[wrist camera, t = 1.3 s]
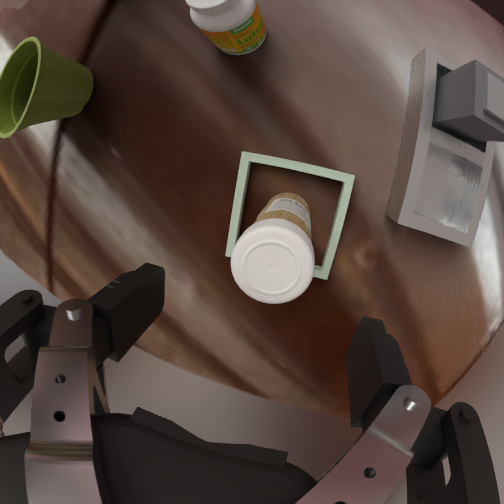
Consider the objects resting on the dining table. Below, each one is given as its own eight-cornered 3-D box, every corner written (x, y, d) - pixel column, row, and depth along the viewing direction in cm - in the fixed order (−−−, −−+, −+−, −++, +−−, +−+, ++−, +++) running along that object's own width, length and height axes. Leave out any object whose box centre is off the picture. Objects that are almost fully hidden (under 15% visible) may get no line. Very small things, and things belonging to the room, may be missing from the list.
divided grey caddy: (385, 213, 25) (397, 223, 21) (411, 59, 18) (426, 47, 15) (453, 235, 24) (471, 247, 20) (479, 93, 17) (498, 88, 14)
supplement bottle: (250, 63, 22) (221, 23, 13) (206, 46, 22) (162, 9, 13) (276, 25, 20) (260, -26, 11) (231, 10, 20) (199, -37, 11)
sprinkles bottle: (256, 216, 27) (212, 269, 15) (285, 181, 26) (266, 207, 13) (290, 245, 28) (274, 321, 15) (321, 213, 26) (333, 268, 14)
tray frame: (228, 252, 29) (225, 255, 28) (244, 151, 25) (242, 151, 24) (326, 274, 28) (327, 279, 27) (352, 175, 24) (355, 176, 23)
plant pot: (99, 36, 23) (40, 17, 12) (116, 102, 26) (44, 94, 15) (47, 85, 26) (-9, 82, 16) (59, 148, 29) (-4, 157, 19)
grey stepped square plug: (426, 124, 20) (478, 114, 11) (430, 82, 18) (479, 57, 9) (462, 141, 20) (520, 142, 11) (467, 100, 18) (521, 88, 9)
